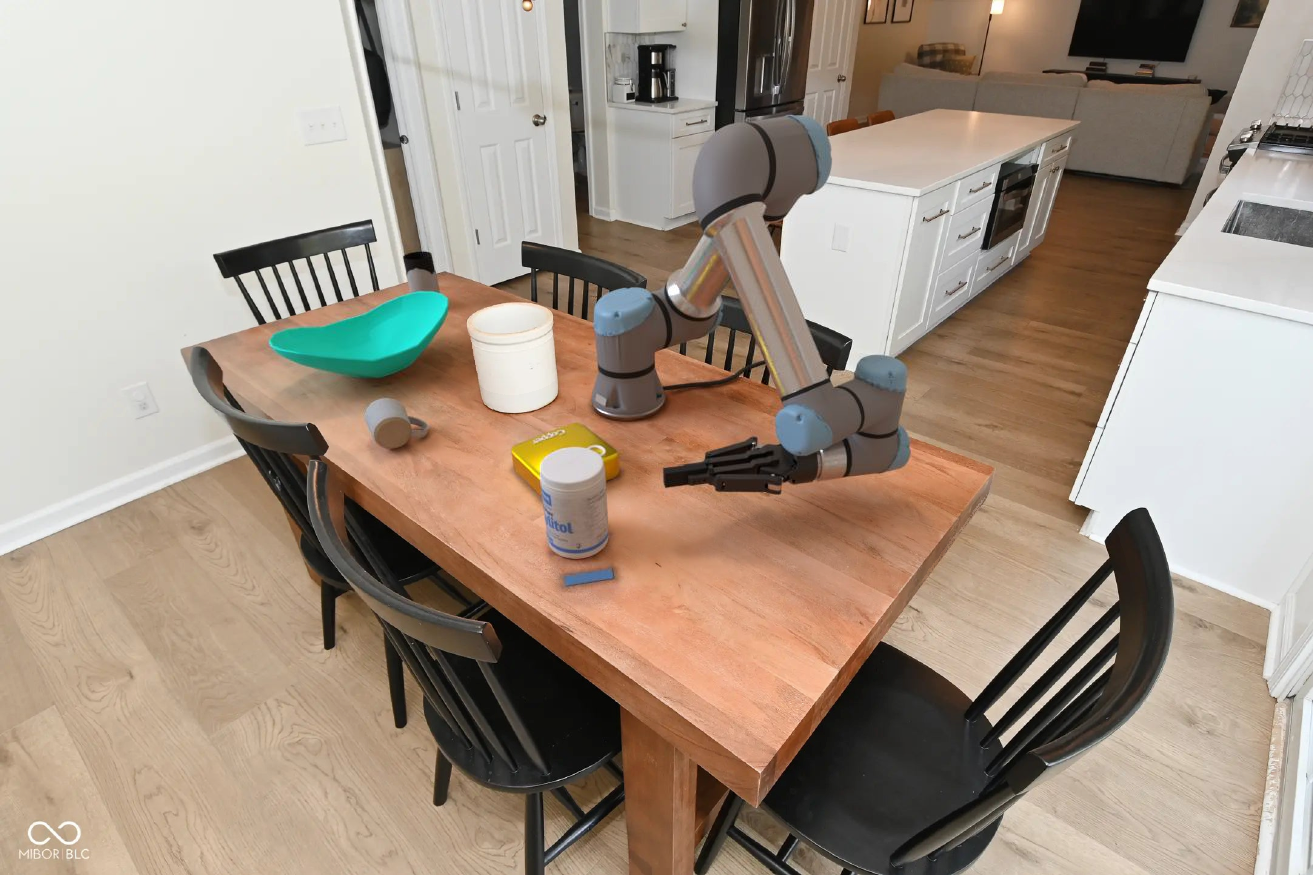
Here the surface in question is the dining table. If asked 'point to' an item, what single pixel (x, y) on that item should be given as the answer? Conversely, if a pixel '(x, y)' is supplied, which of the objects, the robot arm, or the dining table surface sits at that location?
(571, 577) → the tape marks
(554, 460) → the supplement tub
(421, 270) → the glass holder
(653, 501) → the dining table surface
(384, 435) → the ceramic mug
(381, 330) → the table top decor
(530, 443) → the element tile
